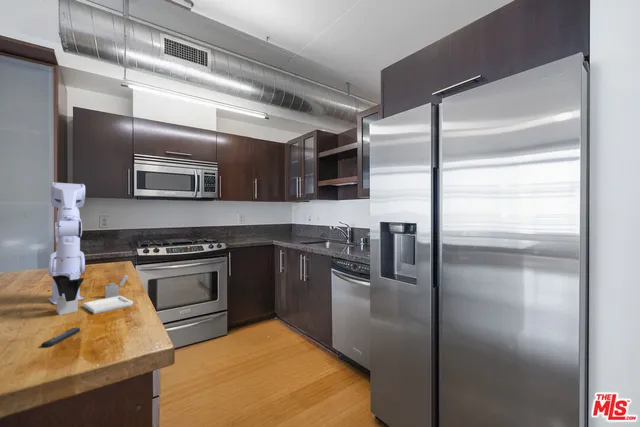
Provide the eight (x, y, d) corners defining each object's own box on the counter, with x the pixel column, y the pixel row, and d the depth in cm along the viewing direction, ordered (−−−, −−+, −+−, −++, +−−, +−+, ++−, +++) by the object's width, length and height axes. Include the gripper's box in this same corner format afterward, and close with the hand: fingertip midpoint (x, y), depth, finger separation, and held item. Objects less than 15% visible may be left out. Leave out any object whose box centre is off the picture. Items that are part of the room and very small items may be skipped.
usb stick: (71, 332, 77) (71, 326, 77) (81, 332, 77) (81, 326, 77) (39, 349, 67) (39, 342, 67) (50, 348, 67) (51, 342, 67)
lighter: (105, 298, 105) (105, 277, 105) (104, 297, 106) (105, 276, 106) (127, 295, 110) (128, 274, 110) (127, 294, 111) (127, 274, 111)
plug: (56, 312, 90) (56, 294, 90) (74, 308, 94) (74, 291, 94) (59, 314, 88) (59, 296, 88) (77, 311, 92) (77, 292, 92)
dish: (83, 306, 95) (83, 302, 95) (120, 299, 104) (120, 295, 104) (94, 314, 89) (94, 309, 89) (132, 305, 98) (132, 301, 98)
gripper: (46, 256, 92) (45, 297, 92) (57, 260, 83) (56, 306, 83) (73, 253, 98) (73, 292, 98) (87, 258, 89) (86, 300, 89)
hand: (67, 298), depth 91 cm, fingers open, 7 cm apart
